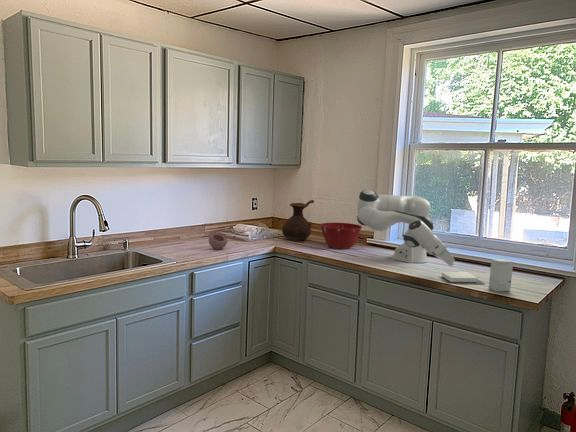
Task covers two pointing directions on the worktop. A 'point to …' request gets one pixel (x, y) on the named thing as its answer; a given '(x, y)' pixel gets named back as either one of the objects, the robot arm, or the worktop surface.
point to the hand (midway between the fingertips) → (451, 265)
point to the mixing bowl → (340, 234)
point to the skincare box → (500, 274)
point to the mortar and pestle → (217, 240)
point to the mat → (470, 282)
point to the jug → (297, 223)
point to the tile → (459, 277)
